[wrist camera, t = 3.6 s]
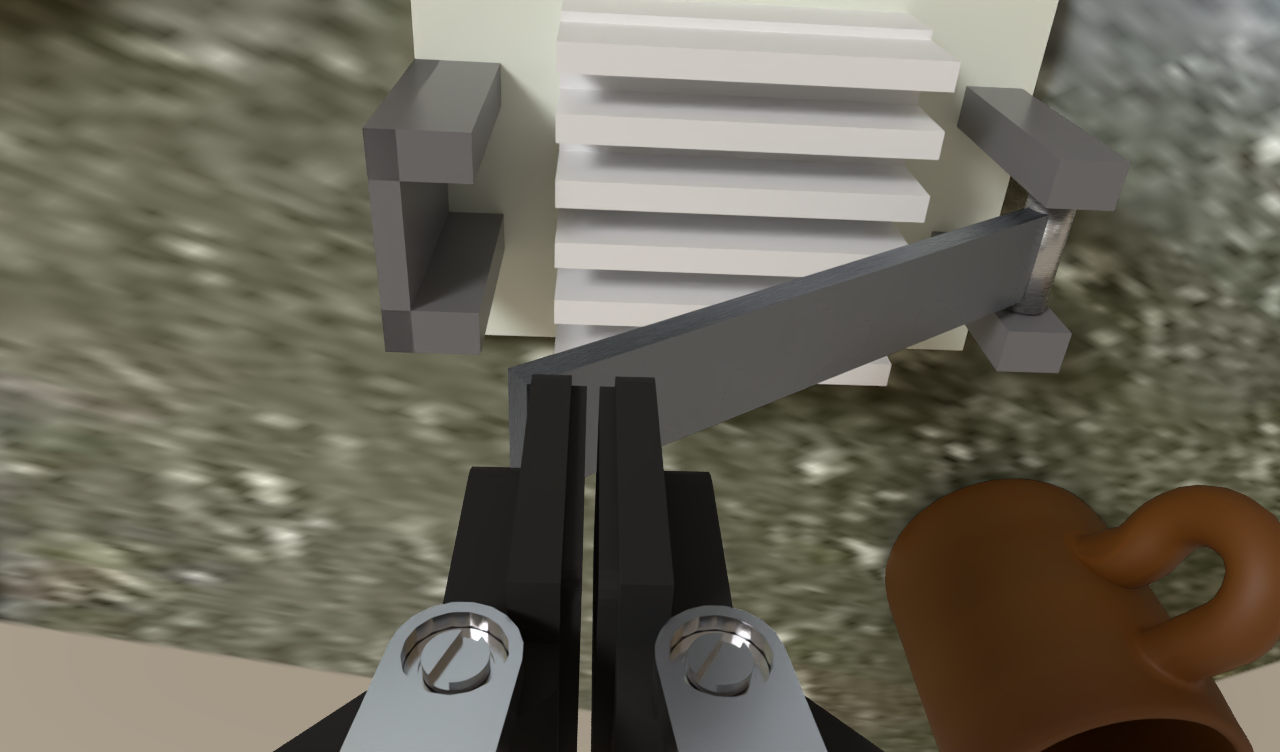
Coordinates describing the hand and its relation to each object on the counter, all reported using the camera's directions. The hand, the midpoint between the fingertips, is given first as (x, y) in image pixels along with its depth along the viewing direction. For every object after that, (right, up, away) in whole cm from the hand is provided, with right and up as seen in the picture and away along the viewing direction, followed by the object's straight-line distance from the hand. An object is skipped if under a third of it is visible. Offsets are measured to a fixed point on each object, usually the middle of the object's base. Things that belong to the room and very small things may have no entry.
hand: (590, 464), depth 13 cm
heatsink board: (+3, +7, +12) cm, 14 cm away
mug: (+14, -3, +18) cm, 23 cm away
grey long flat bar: (+4, +2, +4) cm, 6 cm away
